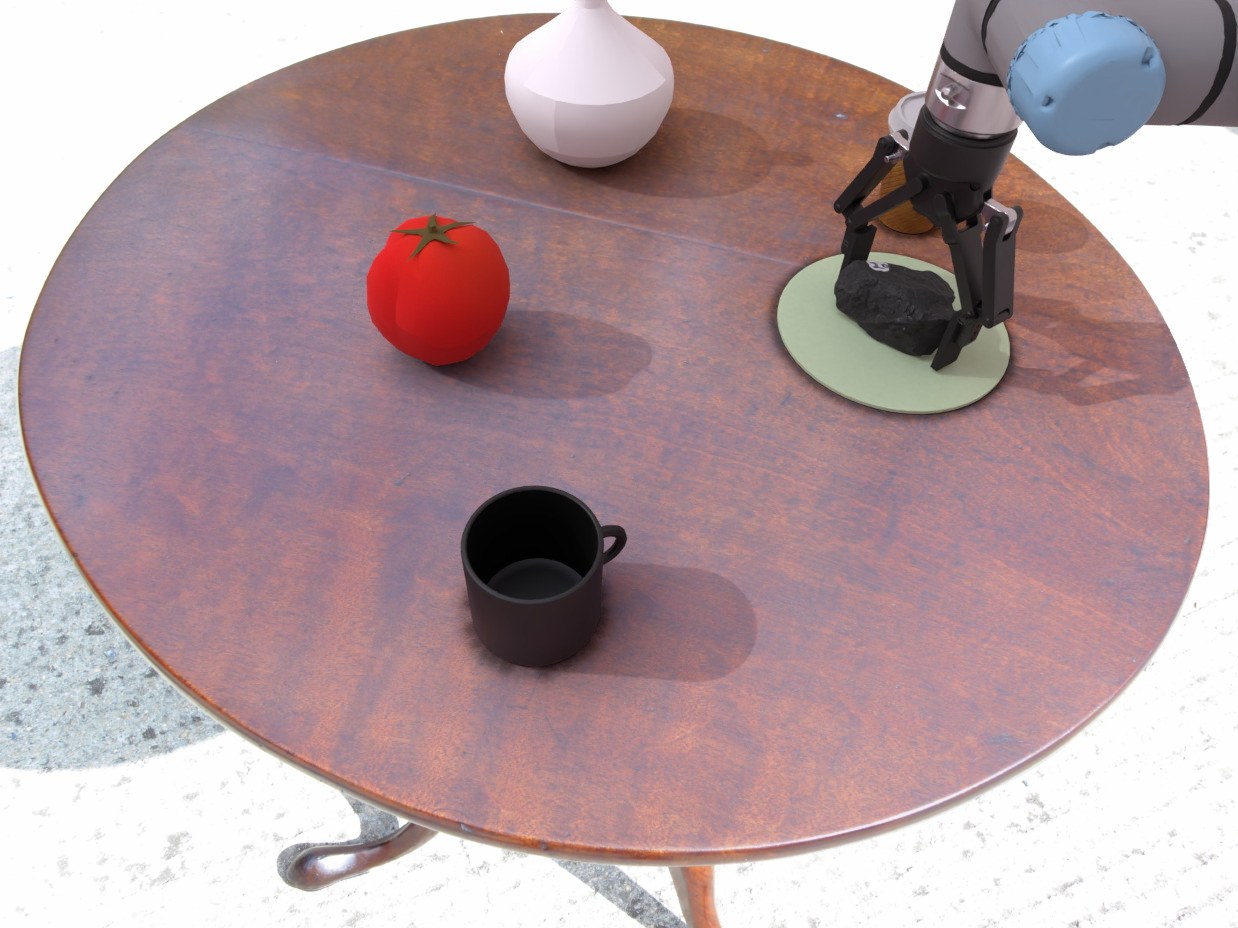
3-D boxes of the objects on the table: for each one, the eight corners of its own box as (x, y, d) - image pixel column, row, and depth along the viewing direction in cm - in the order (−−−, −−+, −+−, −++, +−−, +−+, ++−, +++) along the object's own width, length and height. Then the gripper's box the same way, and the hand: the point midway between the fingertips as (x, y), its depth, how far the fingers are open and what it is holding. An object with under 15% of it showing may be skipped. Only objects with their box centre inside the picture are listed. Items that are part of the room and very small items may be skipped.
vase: (654, 98, 112) (667, -71, 97) (681, 187, 101) (700, 11, 86) (503, 103, 110) (493, -69, 95) (513, 195, 99) (503, 16, 84)
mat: (1057, 354, 87) (1059, 351, 86) (890, 450, 78) (892, 447, 78) (892, 230, 98) (893, 227, 97) (730, 302, 89) (731, 299, 89)
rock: (827, 291, 90) (841, 243, 85) (930, 297, 90) (950, 249, 86) (838, 356, 85) (854, 309, 80) (948, 362, 85) (970, 315, 80)
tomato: (367, 319, 86) (339, 200, 75) (494, 292, 89) (484, 173, 79) (394, 407, 79) (368, 289, 69) (531, 374, 82) (525, 256, 72)
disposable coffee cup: (944, 194, 102) (982, 93, 93) (955, 248, 96) (997, 145, 87) (858, 186, 102) (887, 84, 93) (864, 239, 96) (896, 136, 87)
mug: (654, 620, 67) (664, 552, 60) (503, 690, 63) (495, 627, 56) (594, 525, 72) (597, 453, 65) (451, 585, 68) (438, 515, 61)
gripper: (828, 57, 75) (780, 265, 92) (1066, 213, 63) (962, 419, 80) (893, 34, 78) (836, 240, 95) (1133, 180, 66) (1019, 386, 83)
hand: (893, 323), depth 87 cm, fingers closed on rock, 12 cm apart
